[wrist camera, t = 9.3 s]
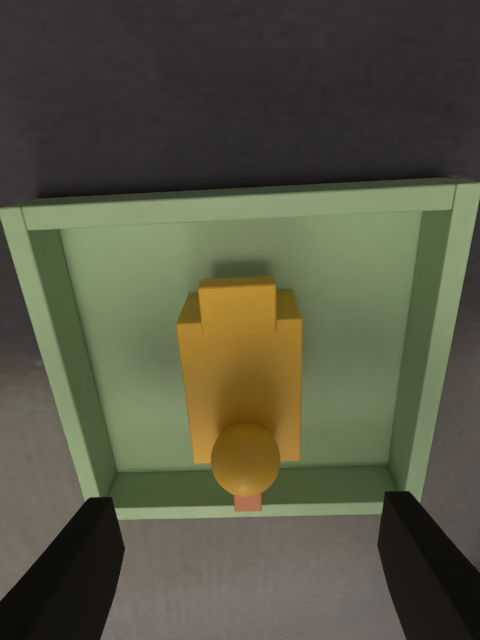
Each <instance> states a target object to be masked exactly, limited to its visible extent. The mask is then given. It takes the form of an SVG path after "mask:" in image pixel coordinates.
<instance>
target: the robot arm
mask: <svg viewBox="0 0 480 640" xmlns="http://www.w3.org/2000/svg"><path fill="white" fill-rule="evenodd" d="M377 546H378V550H379V554H380V558H381V562H382V566H383V570H384V574H385V578H386V581H387V585H388V589H389V592H390V595H391V598H392V601H393V603H394V606H395V609H396V612H397V615H398V617H399V620H400V623H401V626H402V629H403V631H404V634H405V637H406V640H480V572H479V571H478V570H477V569H476V568H475V567H474V566H473V565H472V563H471V562H470V561H469V560H468V559H467V558H466V557H465V556H464V555H463V554H462V552H461V551H460V550H459V549H458V548H457V547H456V546H455V544H454V543H453V542H452V541H451V540H450V539H449V537H448V536H447V535H446V534H445V533H444V532H443V530H442V529H441V528H440V527H439V526H438V525H437V523H436V522H435V521H434V520H433V519H432V517H431V516H430V515H429V514H428V513H427V511H426V510H425V509H424V508H423V507H422V505H421V504H420V503H419V502H418V500H417V499H416V498H415V497H414V496H413V494H412V493H410V492H409V491H385V495H384V502H383V509H382V516H381V523H380V530H379V537H378V544H377ZM124 551H125V547H124V543H123V539H122V535H121V531H120V527H119V523H118V519H117V515H116V511H115V507H114V503H113V499H112V497H89V498H88V499H87V500H86V502H85V503H84V504H83V505H82V506H81V508H80V509H79V510H78V511H77V512H76V514H75V515H74V516H73V517H72V519H71V520H70V521H69V522H68V523H67V525H66V526H65V527H64V528H63V530H62V531H61V532H60V533H59V534H58V536H57V537H56V538H55V539H54V540H53V542H52V543H51V544H50V545H49V546H48V548H47V549H46V550H45V551H44V552H43V553H42V555H41V556H40V557H39V558H38V559H37V560H36V562H35V563H34V564H33V565H32V566H31V567H30V569H29V570H28V571H27V572H26V573H25V574H24V575H23V577H22V578H21V579H20V580H19V581H18V582H17V583H16V585H15V586H14V587H13V588H12V589H11V590H10V591H9V592H8V593H7V594H6V596H5V597H4V598H3V599H2V600H1V601H0V640H100V638H101V635H102V632H103V629H104V626H105V623H106V620H107V617H108V614H109V611H110V608H111V605H112V602H113V598H114V595H115V592H116V587H117V583H118V579H119V575H120V570H121V565H122V561H123V556H124Z"/></svg>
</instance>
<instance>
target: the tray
mask: <svg viewBox="0 0 480 640" xmlns="http://www.w3.org/2000/svg"><path fill="white" fill-rule="evenodd" d="M479 199H480V182H474V181H466V180H458V179H450V178H442V177H441V178H422V179H403V180H384V181H365V182H346V183H326V184H307V185H288V186H269V187H250V188H231V189H212V190H192V191H173V192H154V193H135V194H116V195H97V196H78V197H59V198H39V199H34V200H30V201H26V202H21V203H17V204H12V205H8V206H3V207H0V219H1V222H2V225H3V229H4V232H5V235H6V239H7V242H8V245H9V249H10V252H11V255H12V259H13V262H14V265H15V269H16V272H17V276H18V279H19V282H20V286H21V289H22V292H23V296H24V299H25V302H26V306H27V309H28V312H29V316H30V319H31V322H32V326H33V329H34V332H35V336H36V339H37V342H38V346H39V349H40V353H41V356H42V359H43V363H44V366H45V369H46V373H47V376H48V379H49V383H50V386H51V389H52V393H53V396H54V399H55V403H56V406H57V409H58V413H59V416H60V420H61V423H62V426H63V430H64V433H65V436H66V440H67V443H68V446H69V450H70V453H71V456H72V460H73V463H74V466H75V470H76V473H77V476H78V480H79V483H80V486H81V490H82V493H83V497H84V500H85V502H86V500H87V499H88V498H89V497H112V499H113V503H114V507H115V511H116V515H117V519H118V520H128V519H173V518H218V517H264V516H309V515H354V514H382V509H383V502H384V495H385V491H409V492H410V493H412V494H413V496H414V497H415V498H416V499H417V500H418V502H419V503H420V501H421V496H422V491H423V486H424V481H425V476H426V470H427V465H428V460H429V455H430V450H431V445H432V440H433V435H434V430H435V424H436V419H437V414H438V409H439V404H440V399H441V394H442V389H443V383H444V378H445V373H446V368H447V363H448V358H449V353H450V348H451V343H452V337H453V332H454V327H455V322H456V317H457V312H458V307H459V302H460V296H461V291H462V286H463V281H464V276H465V271H466V266H467V261H468V256H469V250H470V245H471V240H472V235H473V230H474V225H475V220H476V215H477V209H478V204H479ZM258 276H274V278H275V282H276V291H279V290H293V292H294V295H295V298H296V301H297V304H298V307H299V309H300V312H301V315H302V318H303V341H302V397H301V454H300V460H299V461H280V468H279V472H278V475H277V477H276V479H275V481H274V482H273V483H272V485H271V486H270V487H269V488H268V489H267V490H265V491H264V492H262V511H249V512H235V507H234V495H233V494H231V493H229V492H228V491H226V490H225V489H224V488H223V487H222V486H221V485H220V484H219V483H218V482H217V480H216V478H215V476H214V474H213V471H212V467H211V463H197V464H195V463H194V460H193V452H192V445H191V437H190V429H189V422H188V414H187V406H186V399H185V391H184V383H183V376H182V368H181V360H180V353H179V345H178V338H177V330H176V322H177V320H178V318H179V315H180V313H181V310H182V308H183V305H184V303H185V301H186V298H187V296H188V295H189V294H198V287H199V284H200V281H201V280H202V279H213V278H235V277H258Z"/></svg>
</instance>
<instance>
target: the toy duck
mask: <svg viewBox="0 0 480 640" xmlns="http://www.w3.org/2000/svg"><path fill="white" fill-rule="evenodd" d="M176 330H177V338H178V345H179V353H180V360H181V368H182V376H183V383H184V391H185V399H186V406H187V414H188V422H189V429H190V437H191V445H192V452H193V460H194V463H195V464H197V463H211V467H212V471H213V474H214V476H215V478H216V480H217V482H218V483H219V484H220V485H221V486H222V487H223V488H224V489H225V490H226V491H228V492H229V493H231V494H233V495H234V507H235V512H249V511H262V492H264V491H265V490H267V489H268V488H269V487H270V486H271V485H272V483H273V482H274V481H275V479H276V477H277V475H278V472H279V468H280V461H299V460H300V454H301V397H302V341H303V318H302V315H301V312H300V309H299V307H298V304H297V301H296V298H295V295H294V292H293V290H279V291H276V282H275V278H274V276H258V277H235V278H213V279H202V280H201V281H200V284H199V287H198V294H189V295H188V296H187V298H186V301H185V303H184V305H183V308H182V310H181V313H180V315H179V318H178V320H177V322H176Z"/></svg>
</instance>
